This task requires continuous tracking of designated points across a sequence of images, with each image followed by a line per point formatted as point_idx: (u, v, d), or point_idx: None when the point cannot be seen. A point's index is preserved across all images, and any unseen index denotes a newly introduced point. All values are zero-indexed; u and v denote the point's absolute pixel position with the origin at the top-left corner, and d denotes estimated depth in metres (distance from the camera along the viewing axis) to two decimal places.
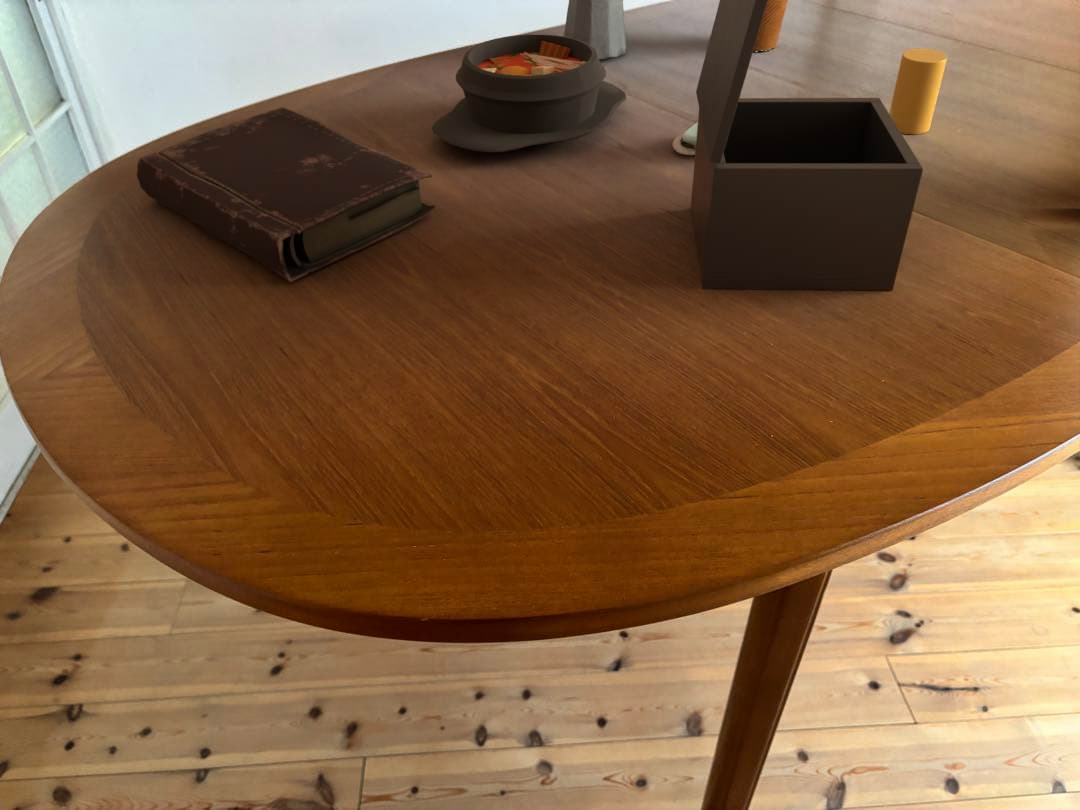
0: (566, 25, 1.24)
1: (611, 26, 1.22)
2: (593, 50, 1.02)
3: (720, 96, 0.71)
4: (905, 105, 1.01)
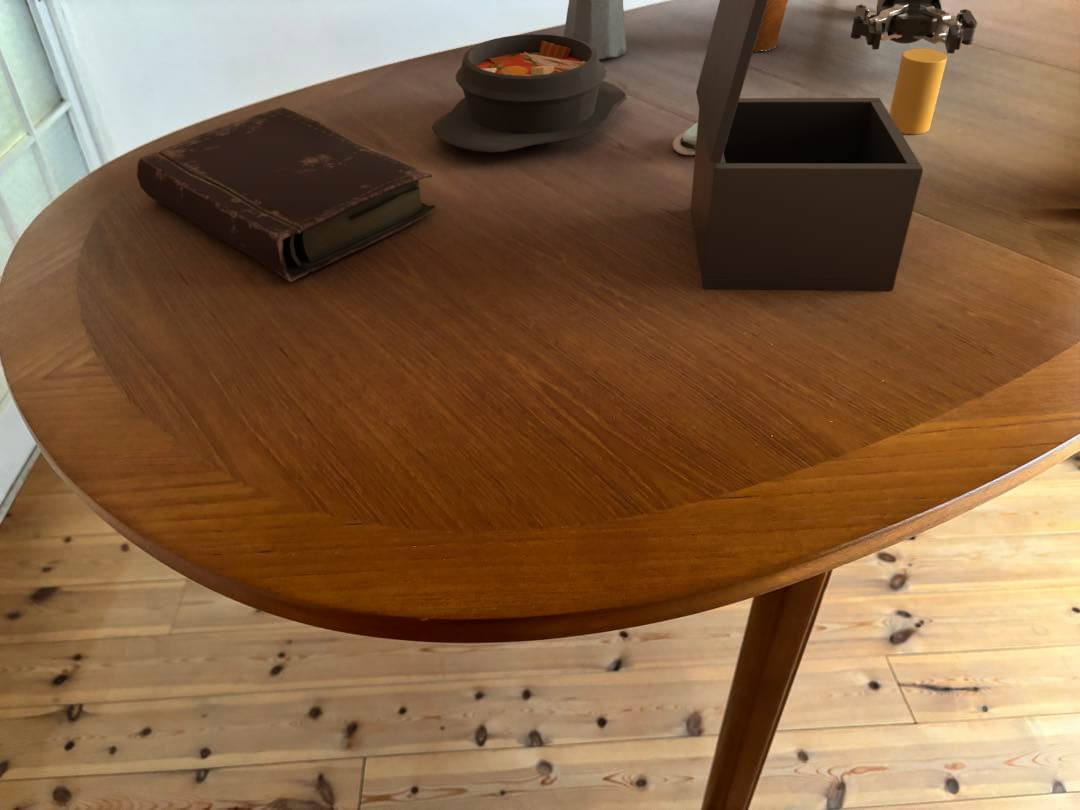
0: (566, 25, 1.24)
1: (611, 26, 1.22)
2: (593, 50, 1.02)
3: (720, 96, 0.71)
4: (905, 105, 1.01)
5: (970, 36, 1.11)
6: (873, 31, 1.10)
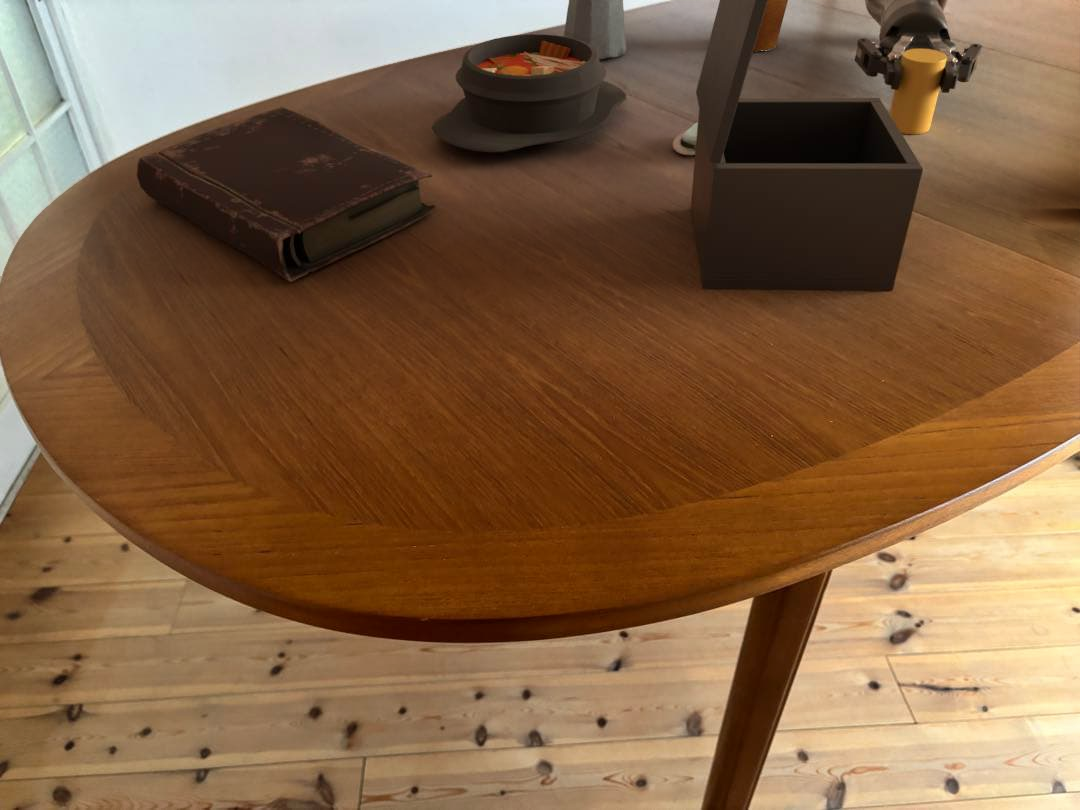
0: (566, 25, 1.24)
1: (611, 26, 1.22)
2: (593, 50, 1.02)
3: (720, 96, 0.71)
4: (905, 105, 1.01)
5: (965, 73, 1.01)
6: (892, 69, 1.00)
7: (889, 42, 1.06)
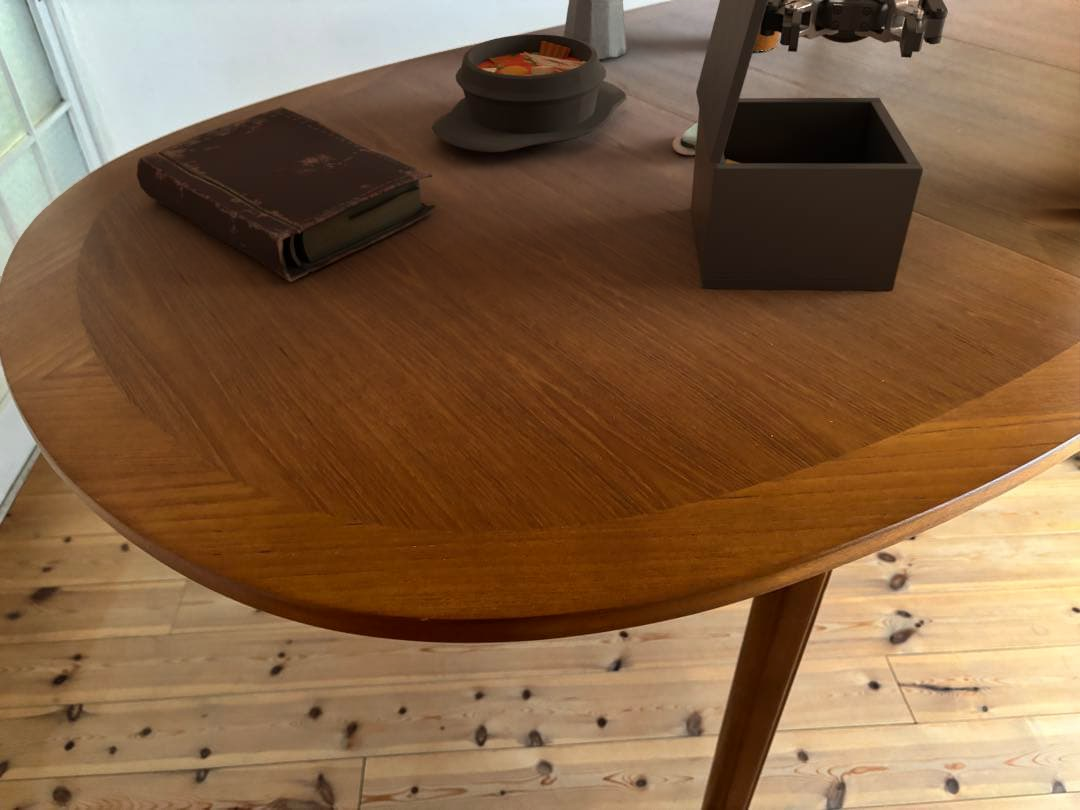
0: (566, 25, 1.24)
1: (611, 26, 1.22)
2: (593, 50, 1.02)
3: (720, 96, 0.71)
4: None
5: (937, 31, 0.73)
6: (788, 24, 0.72)
7: None
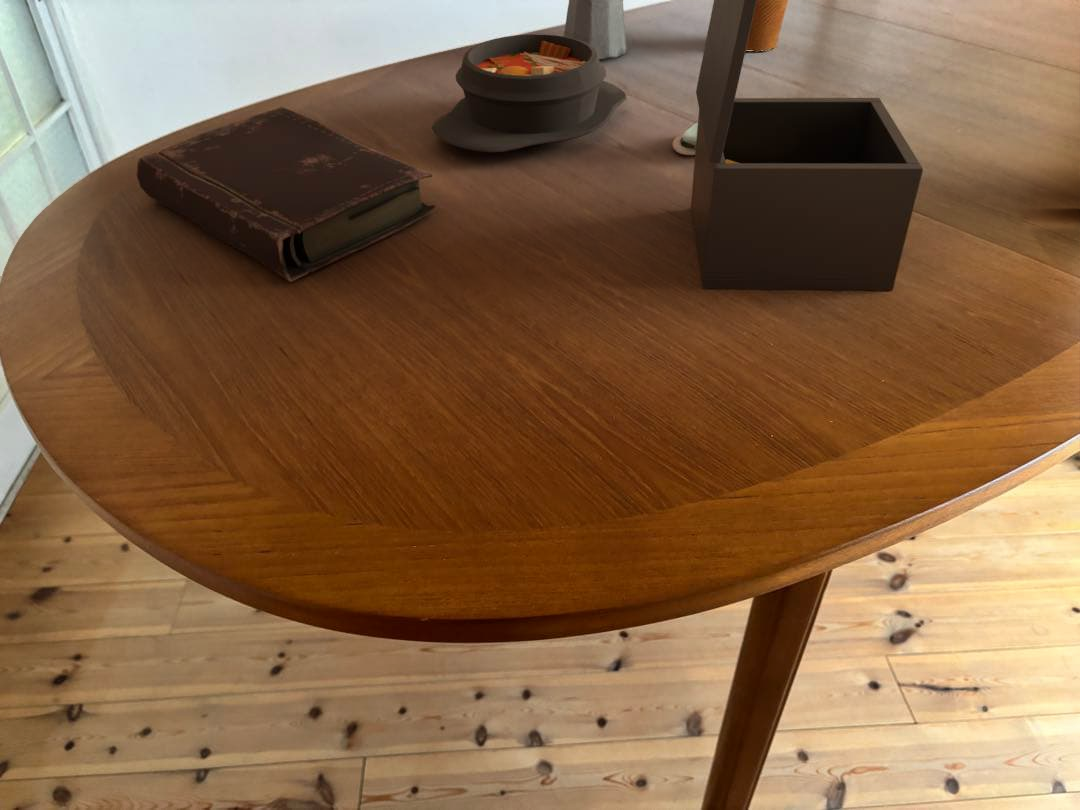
0: (566, 25, 1.24)
1: (611, 26, 1.22)
2: (593, 50, 1.02)
3: (717, 96, 0.71)
4: None
5: None
6: None
7: None
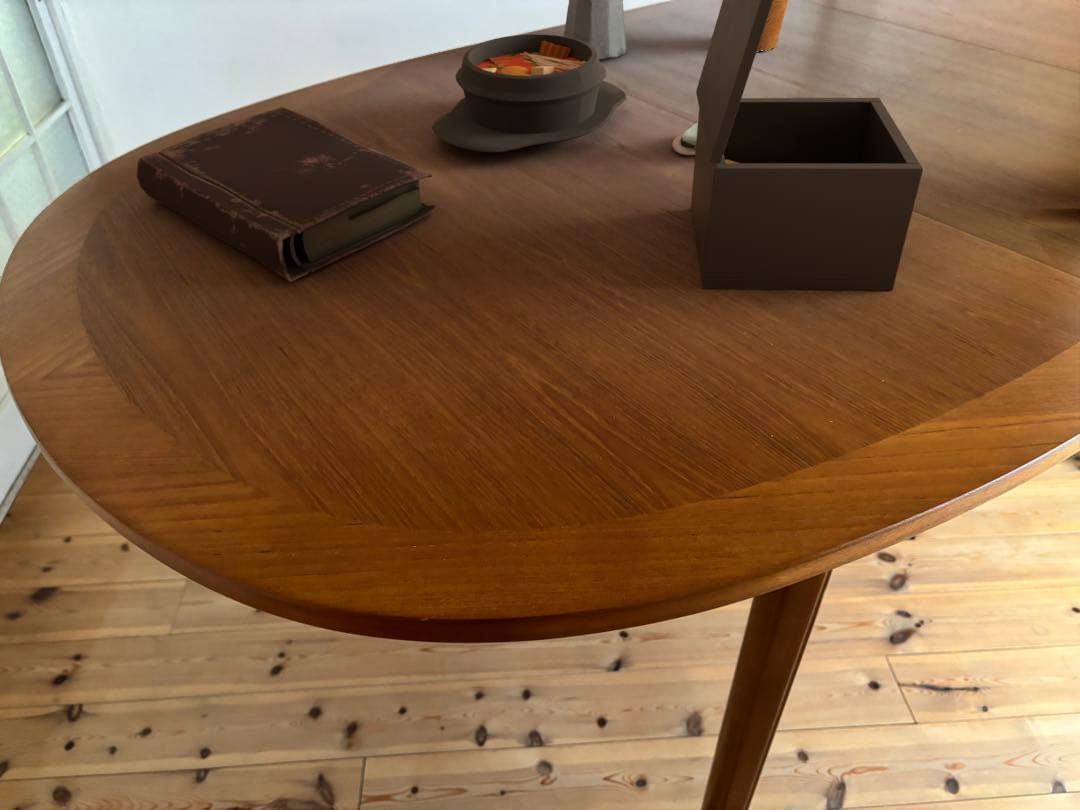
0: (566, 25, 1.24)
1: (611, 26, 1.22)
2: (593, 50, 1.02)
3: (722, 96, 0.71)
4: None
5: None
6: None
7: None
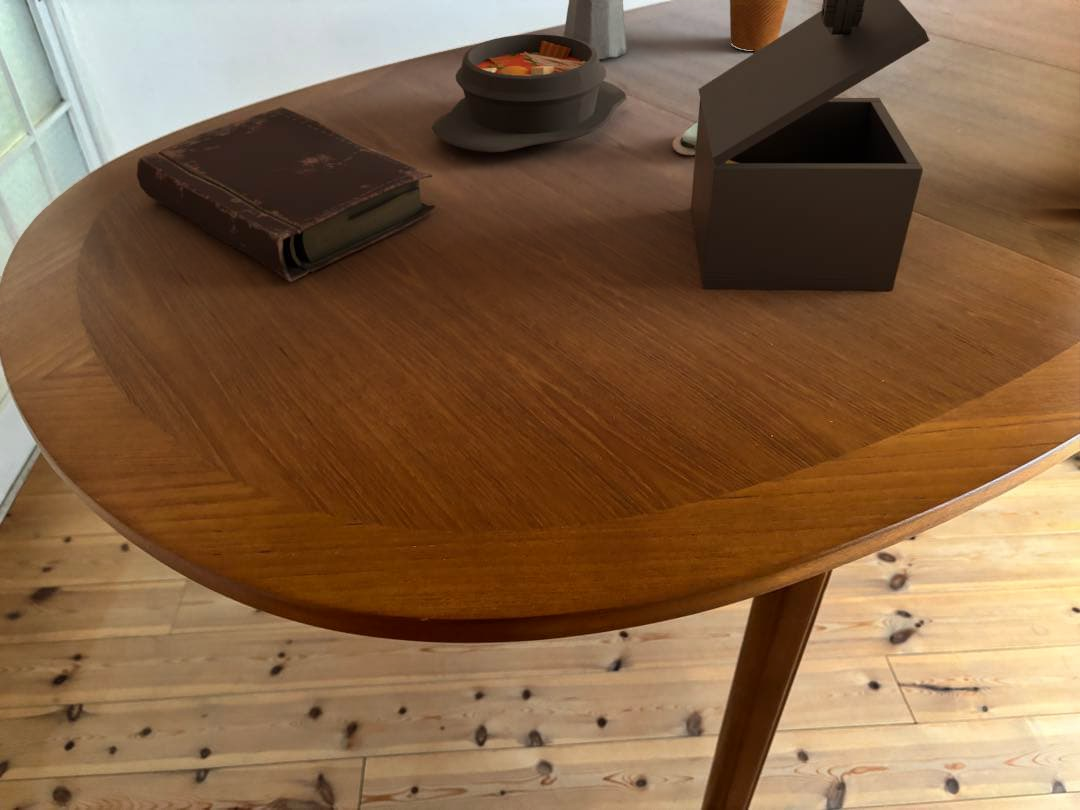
0: (566, 25, 1.24)
1: (611, 26, 1.22)
2: (593, 50, 1.02)
3: (755, 114, 0.72)
4: None
5: None
6: (830, 17, 0.71)
7: None
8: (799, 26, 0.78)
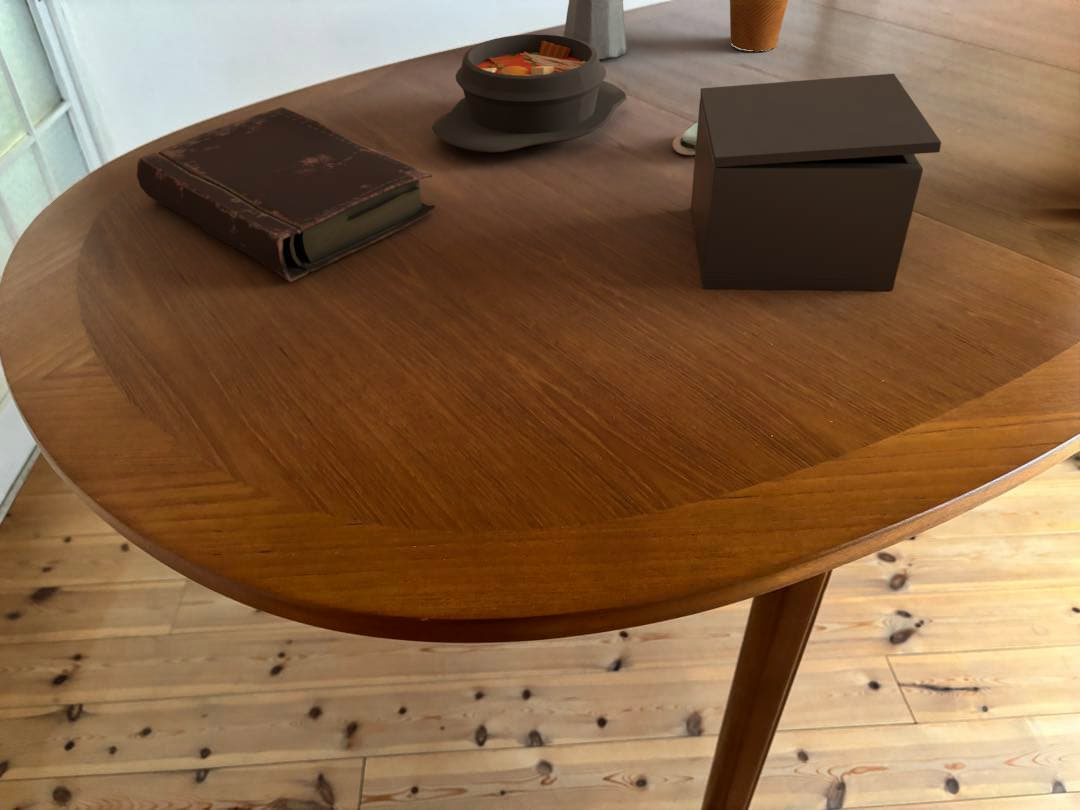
0: (566, 25, 1.24)
1: (611, 26, 1.22)
2: (593, 50, 1.02)
3: (764, 138, 0.73)
4: None
5: None
6: None
7: None
8: (812, 81, 0.81)
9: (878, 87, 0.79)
